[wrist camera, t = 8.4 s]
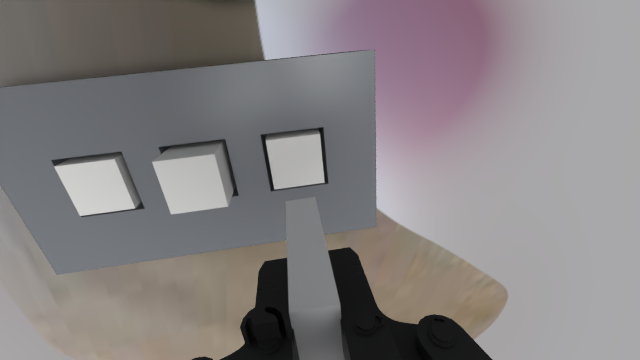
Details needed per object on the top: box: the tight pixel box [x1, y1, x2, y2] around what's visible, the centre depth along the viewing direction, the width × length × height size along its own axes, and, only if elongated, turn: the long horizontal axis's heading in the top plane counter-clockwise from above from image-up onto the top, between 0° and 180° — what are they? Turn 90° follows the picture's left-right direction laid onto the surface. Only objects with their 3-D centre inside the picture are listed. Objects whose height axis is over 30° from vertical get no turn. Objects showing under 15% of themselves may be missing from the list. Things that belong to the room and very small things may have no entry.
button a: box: [54, 152, 142, 216], centre depth 24 cm, size 4×4×4 cm
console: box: [0, 50, 376, 275], centre depth 26 cm, size 16×30×5 cm, turn 95°
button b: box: [152, 139, 236, 214], centre depth 23 cm, size 4×4×4 cm
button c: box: [266, 128, 325, 190], centre depth 25 cm, size 4×4×4 cm
